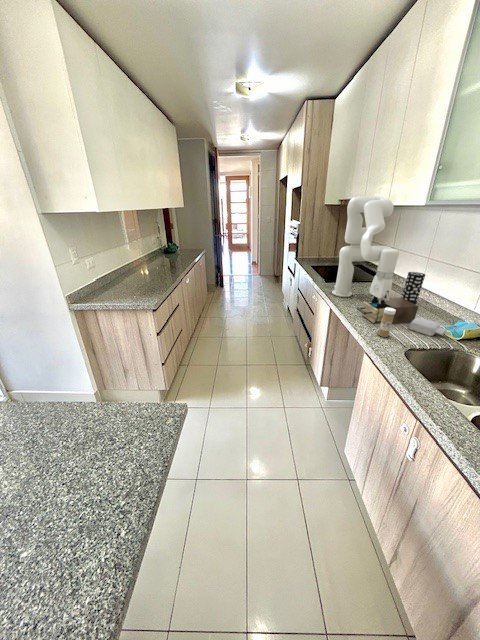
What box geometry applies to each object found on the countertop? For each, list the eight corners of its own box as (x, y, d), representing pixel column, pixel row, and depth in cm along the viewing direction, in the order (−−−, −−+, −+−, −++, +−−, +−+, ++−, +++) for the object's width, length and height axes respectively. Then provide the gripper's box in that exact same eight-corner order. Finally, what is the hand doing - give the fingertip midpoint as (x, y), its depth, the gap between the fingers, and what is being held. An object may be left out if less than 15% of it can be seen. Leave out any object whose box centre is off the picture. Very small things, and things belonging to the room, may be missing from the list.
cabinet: (388, 323, 133) (392, 307, 130) (373, 314, 145) (377, 298, 141) (413, 322, 136) (418, 306, 132) (396, 312, 147) (401, 297, 143)
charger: (444, 341, 117) (408, 329, 128) (451, 335, 122) (416, 324, 133) (448, 332, 115) (411, 321, 126) (454, 326, 120) (418, 316, 131)
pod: (369, 312, 138) (371, 303, 136) (375, 311, 139) (378, 302, 137) (373, 315, 135) (376, 306, 133) (380, 314, 135) (383, 305, 133)
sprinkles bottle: (381, 337, 120) (388, 311, 114) (375, 333, 124) (382, 307, 118) (390, 337, 120) (398, 310, 115) (384, 332, 124) (392, 306, 119)
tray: (364, 323, 132) (367, 310, 128) (352, 314, 142) (355, 302, 139) (396, 321, 134) (400, 308, 131) (382, 312, 144) (385, 300, 141)
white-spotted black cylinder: (403, 302, 161) (412, 271, 152) (417, 307, 154) (428, 274, 146) (396, 305, 157) (405, 273, 148) (410, 310, 150) (421, 276, 142)
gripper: (367, 270, 135) (360, 303, 143) (389, 279, 120) (379, 315, 128) (380, 270, 136) (372, 302, 144) (403, 279, 121) (393, 314, 129)
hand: (376, 308), depth 136 cm, fingers closed on pod, 4 cm apart
